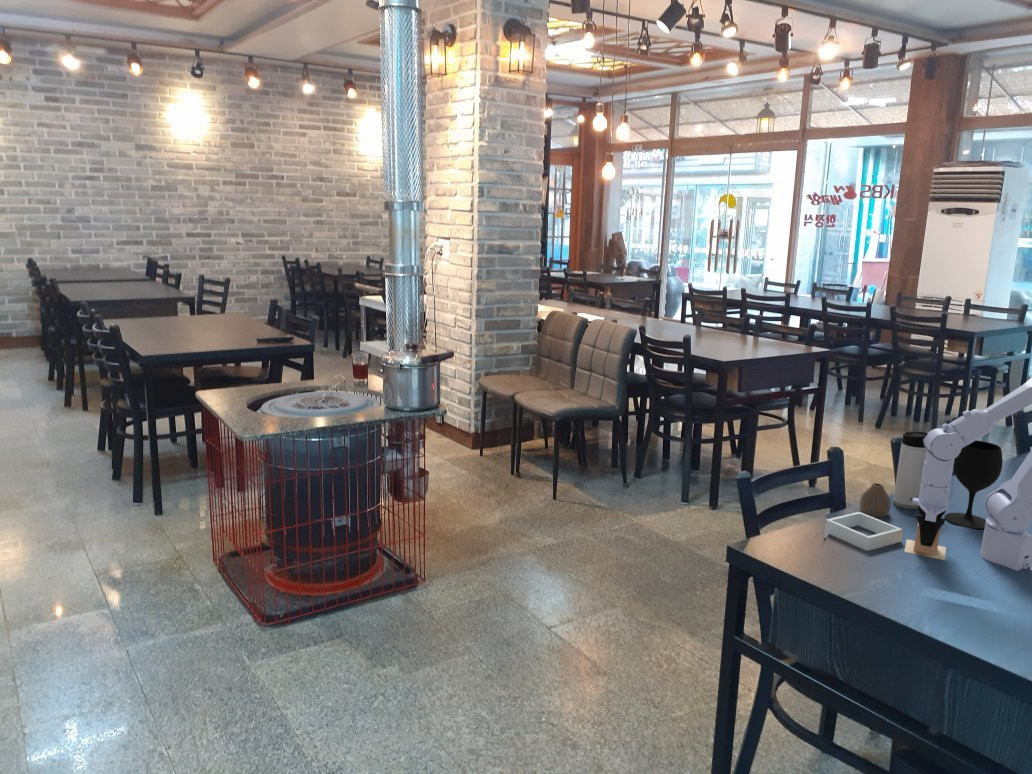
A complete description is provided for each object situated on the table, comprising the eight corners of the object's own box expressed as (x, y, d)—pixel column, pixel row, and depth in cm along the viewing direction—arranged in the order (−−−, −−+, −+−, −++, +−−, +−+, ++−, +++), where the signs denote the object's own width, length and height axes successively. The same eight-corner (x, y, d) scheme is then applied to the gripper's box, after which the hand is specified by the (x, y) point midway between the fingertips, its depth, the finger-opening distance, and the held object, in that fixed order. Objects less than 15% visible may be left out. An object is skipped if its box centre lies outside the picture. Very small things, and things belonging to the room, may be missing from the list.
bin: (900, 547, 182) (902, 529, 181) (866, 557, 176) (869, 538, 175) (856, 529, 192) (859, 511, 191) (823, 537, 186) (826, 519, 185)
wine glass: (949, 510, 206) (961, 436, 201) (995, 521, 199) (1008, 445, 195) (939, 522, 198) (952, 445, 193) (987, 533, 192) (1001, 454, 187)
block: (936, 548, 178) (941, 523, 177) (936, 555, 175) (940, 529, 173) (914, 543, 181) (918, 518, 179) (913, 550, 177) (917, 525, 175)
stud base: (944, 553, 179) (948, 531, 178) (944, 566, 173) (947, 544, 171) (905, 545, 183) (908, 524, 182) (903, 557, 176) (906, 536, 175)
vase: (856, 519, 198) (861, 486, 196) (859, 510, 204) (863, 478, 202) (887, 525, 195) (892, 491, 193) (889, 516, 201) (893, 483, 199)
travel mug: (917, 511, 204) (929, 437, 200) (890, 505, 208) (901, 432, 204) (922, 505, 209) (934, 432, 205) (895, 499, 213) (906, 427, 208)
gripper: (917, 471, 182) (908, 526, 185) (913, 489, 170) (904, 548, 173) (951, 476, 179) (942, 533, 182) (951, 496, 166) (941, 556, 170)
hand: (926, 541), depth 177 cm, fingers closed on block, 4 cm apart
